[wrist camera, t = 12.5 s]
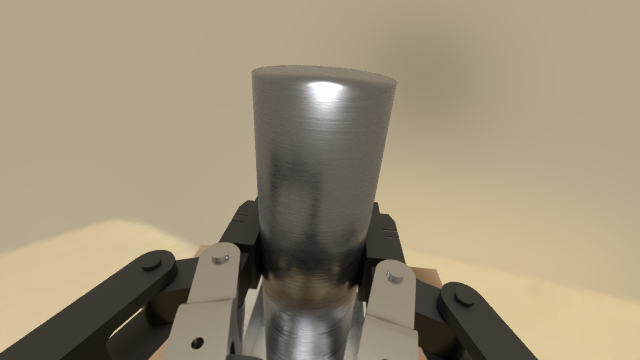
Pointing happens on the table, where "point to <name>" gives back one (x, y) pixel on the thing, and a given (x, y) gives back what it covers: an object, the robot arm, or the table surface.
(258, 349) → the cup bracket
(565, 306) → the table surface
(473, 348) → the robot arm
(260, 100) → the rail post
